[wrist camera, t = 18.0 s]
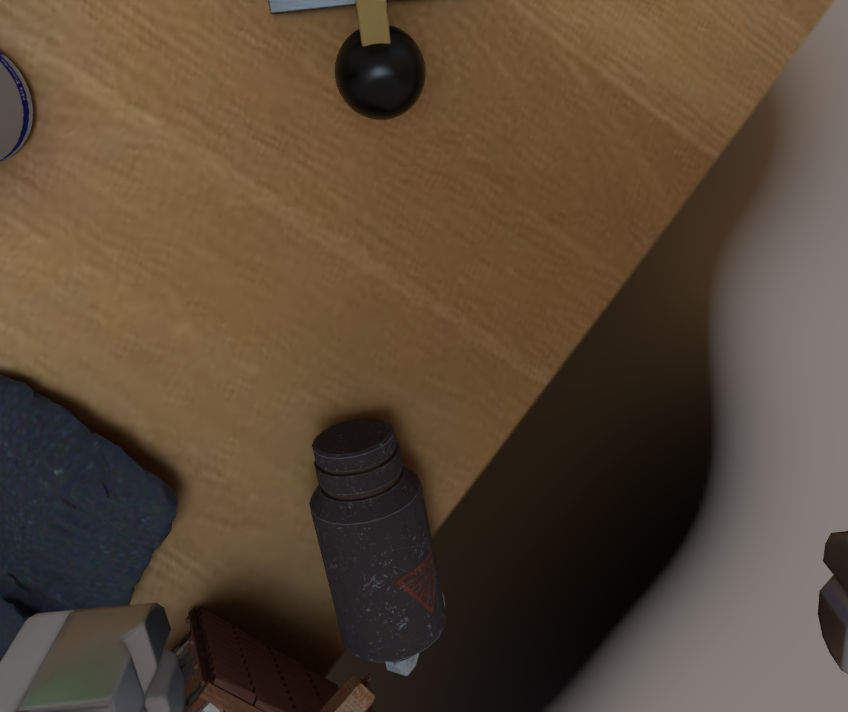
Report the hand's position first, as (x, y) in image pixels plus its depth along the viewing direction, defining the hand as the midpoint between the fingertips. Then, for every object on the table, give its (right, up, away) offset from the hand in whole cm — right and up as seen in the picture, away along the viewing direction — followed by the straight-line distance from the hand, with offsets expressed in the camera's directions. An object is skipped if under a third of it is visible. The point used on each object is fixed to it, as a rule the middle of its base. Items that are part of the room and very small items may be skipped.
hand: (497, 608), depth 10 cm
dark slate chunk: (-24, -8, +36) cm, 44 cm away
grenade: (-4, 0, +31) cm, 32 cm away
